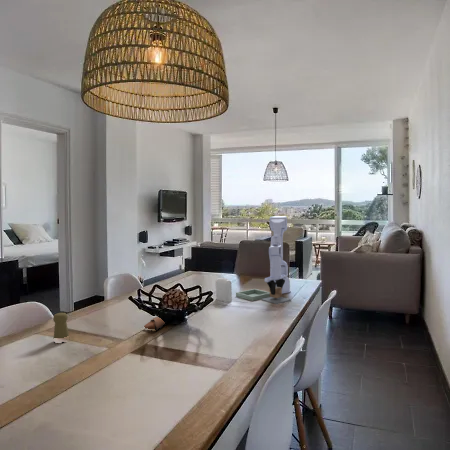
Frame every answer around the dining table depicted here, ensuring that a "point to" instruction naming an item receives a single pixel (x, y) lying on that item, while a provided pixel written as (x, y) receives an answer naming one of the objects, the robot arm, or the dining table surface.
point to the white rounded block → (223, 290)
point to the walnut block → (277, 292)
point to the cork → (60, 325)
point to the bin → (253, 294)
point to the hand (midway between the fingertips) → (276, 293)
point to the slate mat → (276, 300)
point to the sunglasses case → (155, 323)
